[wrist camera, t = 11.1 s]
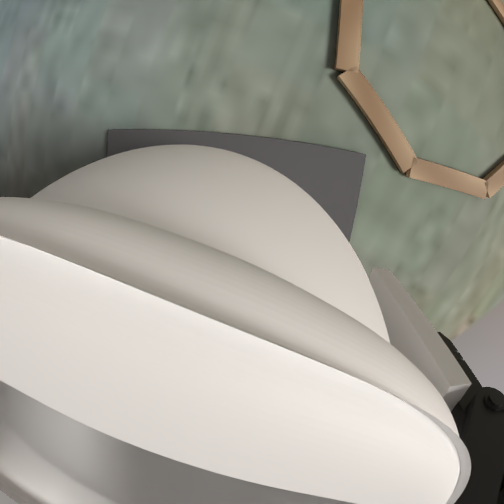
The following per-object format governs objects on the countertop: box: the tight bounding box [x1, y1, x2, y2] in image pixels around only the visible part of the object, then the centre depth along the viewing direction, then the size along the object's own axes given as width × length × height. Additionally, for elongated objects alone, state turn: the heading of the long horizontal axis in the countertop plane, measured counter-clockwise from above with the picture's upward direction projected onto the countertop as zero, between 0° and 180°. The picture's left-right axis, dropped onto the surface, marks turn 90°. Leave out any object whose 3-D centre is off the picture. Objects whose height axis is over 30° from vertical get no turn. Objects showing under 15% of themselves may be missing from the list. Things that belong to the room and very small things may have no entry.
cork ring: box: [334, 0, 504, 199], centre depth 12 cm, size 16×16×1 cm
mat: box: [107, 129, 366, 242], centre depth 17 cm, size 14×11×1 cm
